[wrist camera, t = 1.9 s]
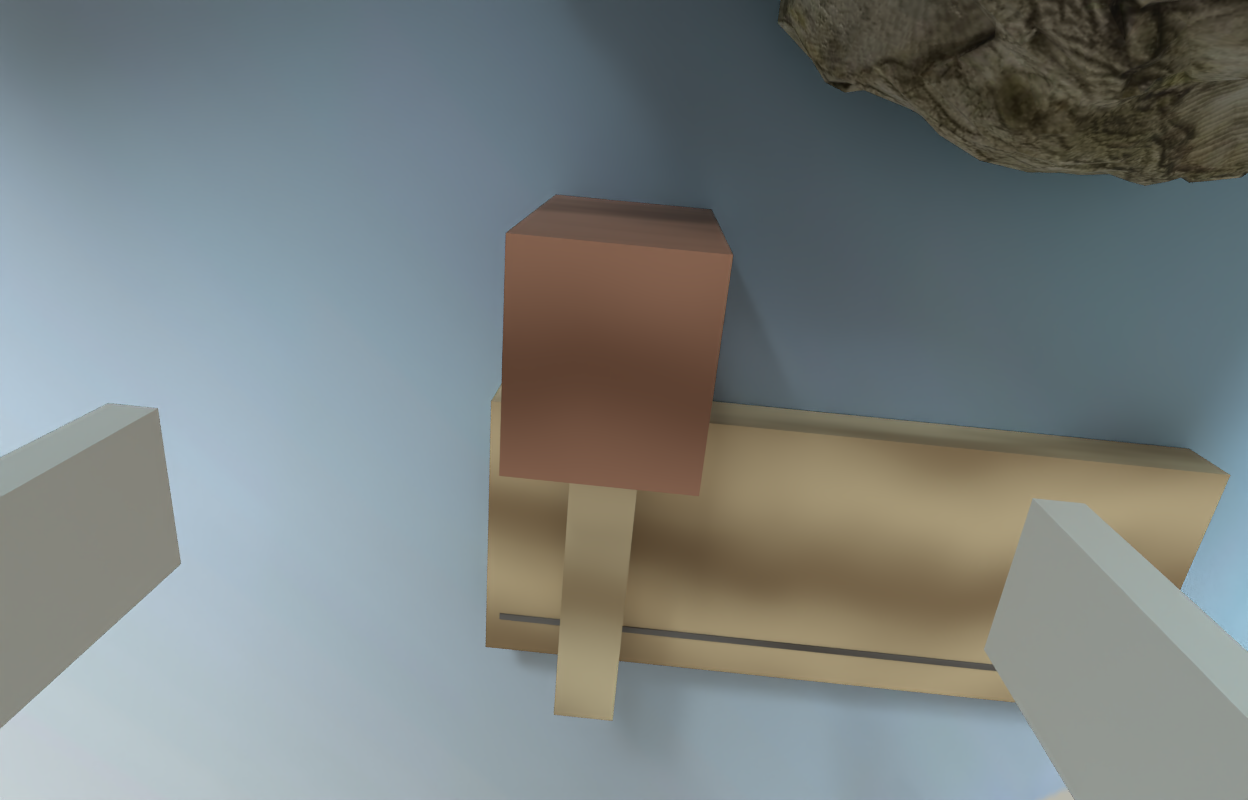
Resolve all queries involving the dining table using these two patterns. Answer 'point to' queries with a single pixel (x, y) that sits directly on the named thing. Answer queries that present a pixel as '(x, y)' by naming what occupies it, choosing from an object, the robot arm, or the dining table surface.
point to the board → (839, 544)
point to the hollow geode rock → (1051, 78)
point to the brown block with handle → (608, 393)
